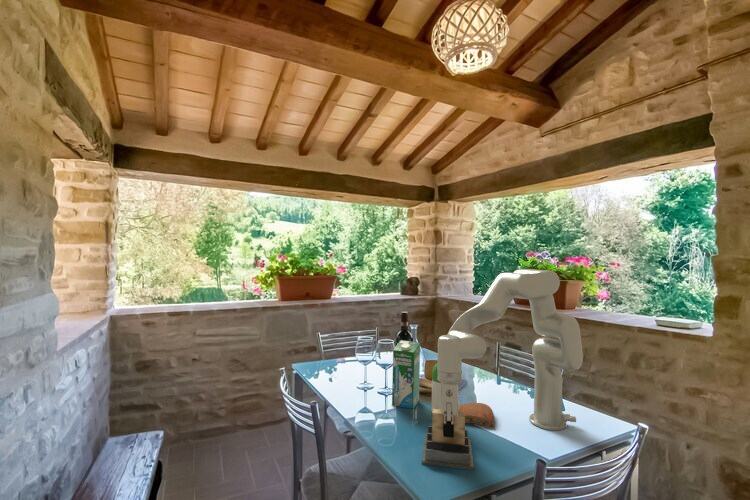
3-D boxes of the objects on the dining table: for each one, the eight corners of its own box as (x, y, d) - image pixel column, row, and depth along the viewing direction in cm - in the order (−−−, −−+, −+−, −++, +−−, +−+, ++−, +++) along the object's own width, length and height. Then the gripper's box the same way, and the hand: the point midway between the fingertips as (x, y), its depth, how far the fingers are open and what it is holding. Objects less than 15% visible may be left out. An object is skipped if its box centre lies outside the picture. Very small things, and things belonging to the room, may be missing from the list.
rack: (470, 441, 126) (470, 429, 126) (473, 470, 109) (474, 456, 109) (424, 436, 128) (425, 424, 128) (421, 463, 112) (422, 450, 112)
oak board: (464, 441, 119) (464, 411, 119) (464, 446, 116) (465, 416, 116) (432, 438, 121) (432, 408, 121) (431, 443, 118) (432, 412, 118)
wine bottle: (456, 424, 138) (457, 342, 138) (436, 427, 136) (438, 343, 136) (446, 415, 145) (447, 338, 146) (427, 418, 143) (429, 339, 143)
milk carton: (391, 405, 155) (393, 344, 155) (398, 397, 163) (400, 339, 163) (413, 409, 151) (414, 346, 152) (419, 401, 160) (420, 342, 160)
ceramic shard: (454, 395, 154) (492, 404, 150) (451, 411, 153) (489, 421, 150) (454, 404, 140) (496, 414, 136) (451, 422, 139) (493, 433, 136)
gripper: (462, 385, 110) (461, 448, 110) (460, 368, 126) (459, 423, 126) (436, 383, 112) (435, 445, 111) (437, 366, 128) (436, 421, 128)
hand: (448, 433), depth 119 cm, fingers closed on oak board, 3 cm apart
